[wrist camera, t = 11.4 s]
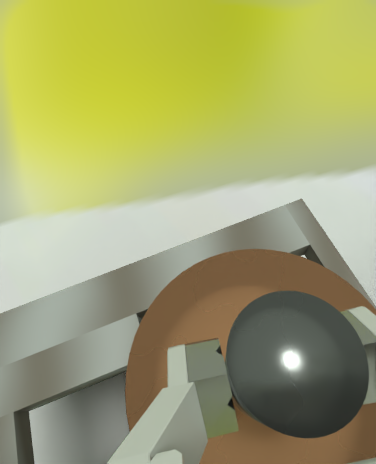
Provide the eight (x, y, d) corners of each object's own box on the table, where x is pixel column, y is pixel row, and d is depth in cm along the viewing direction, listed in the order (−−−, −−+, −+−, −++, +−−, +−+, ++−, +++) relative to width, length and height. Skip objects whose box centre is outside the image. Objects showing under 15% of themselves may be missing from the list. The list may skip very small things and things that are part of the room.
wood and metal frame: (274, 268, 26) (301, 198, 17) (386, 470, 19) (527, 528, 10) (57, 354, 24) (-37, 327, 15) (98, 607, 17) (-26, 817, 9)
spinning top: (288, 267, 19) (362, 120, 9) (396, 453, 15) (780, 565, 5) (132, 329, 18) (27, 242, 8) (195, 549, 14) (128, 954, 4)
